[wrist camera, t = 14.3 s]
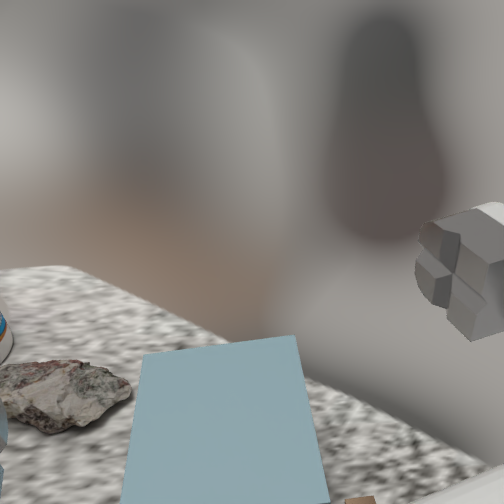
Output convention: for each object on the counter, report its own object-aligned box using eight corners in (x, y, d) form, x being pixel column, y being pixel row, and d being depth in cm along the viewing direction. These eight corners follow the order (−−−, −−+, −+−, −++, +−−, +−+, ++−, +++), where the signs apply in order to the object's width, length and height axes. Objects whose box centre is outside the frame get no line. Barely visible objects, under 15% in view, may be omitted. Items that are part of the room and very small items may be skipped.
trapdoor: (97, 677, 22) (73, 651, 20) (143, 374, 38) (132, 342, 36) (366, 641, 22) (368, 612, 20) (302, 353, 38) (299, 320, 36)
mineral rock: (141, 385, 48) (130, 356, 45) (97, 455, 42) (82, 426, 39) (29, 360, 53) (13, 332, 50) (-25, 419, 47) (-46, 391, 44)
